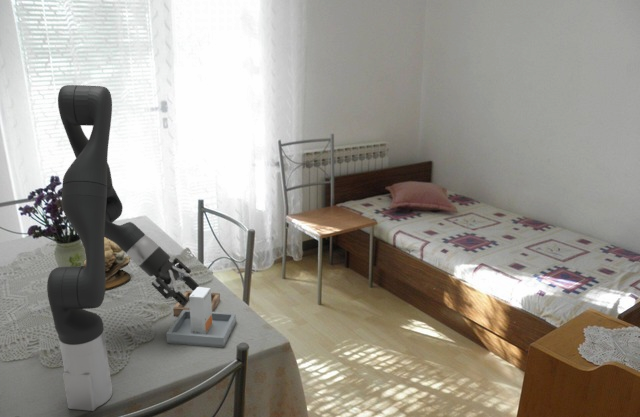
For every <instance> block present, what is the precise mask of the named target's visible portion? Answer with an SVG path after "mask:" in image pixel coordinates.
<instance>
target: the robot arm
mask: <svg viewBox="0 0 640 417" xmlns="http://www.w3.org/2000/svg"><path fill="white" fill-rule="evenodd" d="M57 106H58V107H57V108H58V112H59V113H58V114H59V115H60V119H61V122H62V125H63V128H64V131H65V133H66V136H67V138H68V141H69V142H68V143H70V146H71V150H72V151H73V154H74V156H75V159H74V160H73V162H71V164H70V165H69V167H68V168H67V169H66V171H65V173H64V175H63V179H62V186H61V187H62V188H61V207H62V211H63V213H64V215H65V217H66V219H67V221H68V222H69V224H70V225H71V227H72V228H73V229H74V231H75V232H76V234H77V236H78V237H79V239H80V241H81V243H82V246H83V248H84V249H85V254H86V266H77V265H76V266H59V267H55V268H53V269H52V270H51V271H50V273H49V274H48V277H47V282H46V284H47V285H46V292H47V297H48V303H49V307H50V311H51V316H52V319H53V323H54V328H55V332H56V333H57V335H58V336H57V337H58V340H59V341H58V342H59V346H60V347H59V348H60V353H61V360H62V365H63V370H64V372H63V373H62V380H63V386H64V390H65V395H66V396H65V398H66V402H67V403H66V404H67V407H68V409H70V410H80V411H89V412H94V411H95V410H96V409H97V408H98V407H100V406H102V405H105V404H106V403H107V402H108V401H109V400H110V399H111V397H112V395H113V386H112V378H111V371H110V365H109V364H110V363H109V359H108V358H109V356H108V350H107V344H106V335H105V329H104V322H103V318H102V317H101V316H100V315H99V314H97V313H95V312H92V311H88V309H98V308H99V307H100V306H102V304H103V302H104V299H105V294H106V291H105V250H104V237H105V238H107V239H108V240H109V241H110V240H111V241H113V242H114V243H116V244H117V245H118V246H119V247H120V248H121V249H122V250H123V251H124V253H126V255H127V256H129V257H130V260H132V261H133V262H134V264H136V265H137V266H138V267H139V268H140V269H141V270H142V271H143V272H144V273H146V275H148V276H149V277H153V276H154V277H155V279H154V280H153V281H152V282H151V286H153V287H154V288H155V290H156V291H158V293H159V294H160V295H161V296H163V297H164V298H165V299H166V300H168V299H170V298H173V299H174V300H175V301H177V302H176V303H178V302H179V303H180V304H181V305H185V306H186V304H187V303H188V302H189V300H188V299H187V298H186V297H185V296H184V293H182V292H181V291H180V290H178V287H177V281H182V282H183V283H184V284H185V285H186V286H187V287H188V288H189V289H190V290H192V292H193V291H194V290H195V289H196V288H197V287H200V285H199V283H197V282H196V281H195V280H194V279H193V278H192V277H191V274H190V273H191V272H192V270H191V269H190V268H188V267H187V265H185V264H184V263H183V262H182V261H181V260H180V259H179V258H177V257H175V258H174V259H173V260H172V261H170V259H171V256H170V255H169V253H167V252H166V251H165V250H164V249H163V248H162V247H161V246H160V245H159V244H158V243H157V242H156V241H155V240H153V239H152V238H151V237H149V236H148V235H147V234H145V232H143V230H141V229H140V228H139V227H138V226H137V225H136V224H135V223H133V222H131V221H129V222H125V223H124V224H120V225H119V224H115V223H113V222H115V221H116V220H118V219H119V218H120V217H121V215H122V213H123V209H124V208H123V203H122V201H121V199H120V198H119V195H118V193H117V191H116V189H115V188H114V186H113V180H112V173H111V168H110V165H109V163H108V155H109V152H108V151H109V141H110V135H111V134H110V132H111V124H112V114H113V100H112V94H111V92H110V90H109V88H108V87H107V86H106V87H105V86H102V85H87V84H86V85H82V84H81V85H79V84H66V85H63V86H62V87H61V88H59V91H58V95H57ZM82 126H88V127H89V126H90V127H91V126H92V129H91V133H90V135H89V138H88V137H87V136H86V134H85V133H84V130H83V128H82ZM86 309H87V310H86Z"/></svg>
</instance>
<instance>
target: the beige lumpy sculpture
mask: <svg viewBox="0 0 640 417" xmlns="http://www.w3.org/2000/svg"><path fill="white" fill-rule="evenodd" d="M104 250H105V292H106V291H109V290H113V289H117V288H119V287H122V286H124V285H125V284H127V283H128V282H130V281H131V279H132V278H131V277H132V276H131V274H130V273H129V272H127V271H126V270H124V269H123V268H125V267H127V266H128V265H129V264H130V262H131V258H130V257H129V256H128V255H127V256H125V252H124V251H123V250H122V249H121V248H120V247H119V246H118V245H117V244H116V243H114V242H113V241H111V240H109V239H107V238H105V237H104ZM83 266H86V260H85V261H84V264H83Z"/></svg>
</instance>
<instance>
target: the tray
mask: <svg viewBox="0 0 640 417" xmlns="http://www.w3.org/2000/svg"><path fill="white" fill-rule="evenodd" d="M236 324H237V313H236V312H223V311H222V312H221V311H214V312H212V326H211V327H210V329H209V330H208V332H207V333H206V335H204V334H191V322H190V310H183V311H182V312H181V313H180V315H179V316H177V318H176V319H175V321H174V322H173V324H172V325H171V326H170V327H169V329H168V330H167V332H166V343H167V344H172V345H173V344H175V345H185V346H186V345H187V346H199V347H213V348H225V346H226V344H227V342H228V340H229V338H230V337H231V334H232V332H233V330H234V327H235V326H236Z"/></svg>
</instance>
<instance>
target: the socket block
mask: <svg viewBox="0 0 640 417" xmlns="http://www.w3.org/2000/svg"><path fill="white" fill-rule="evenodd" d="M192 292H193V290H192V291H190V290H186V291H184V293H183V295H184V296H185V297H186V298H187V299H188V301H189V296H190V295H191V294H192ZM220 302H221V295H220V292H219V293H218V292H211V304H212V312H215V310H216V308H217V307H218V305H219V303H220ZM185 306H186V304H185V305H181V304H180V303H179V302H176V304H175V305H174V307H173V308H172V309H173V316H174V317H178V316H179V315H180V313H181V312H182V311H183V310H190V307H185Z"/></svg>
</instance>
